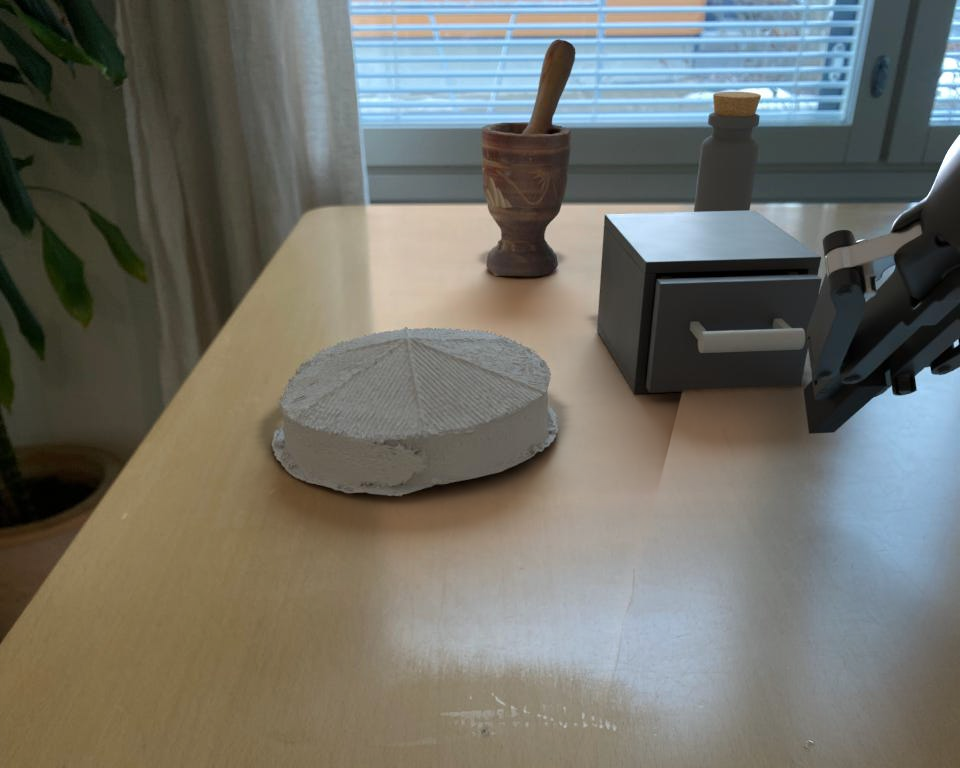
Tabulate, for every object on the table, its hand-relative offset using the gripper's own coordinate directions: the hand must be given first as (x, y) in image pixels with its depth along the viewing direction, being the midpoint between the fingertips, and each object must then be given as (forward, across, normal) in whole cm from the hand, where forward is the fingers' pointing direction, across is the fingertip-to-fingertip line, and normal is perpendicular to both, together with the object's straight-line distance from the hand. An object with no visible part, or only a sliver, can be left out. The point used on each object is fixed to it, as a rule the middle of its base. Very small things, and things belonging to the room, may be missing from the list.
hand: (818, 410), depth 57 cm
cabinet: (+22, 0, +14) cm, 25 cm away
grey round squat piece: (+12, -23, +4) cm, 26 cm away
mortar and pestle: (+42, -10, +34) cm, 55 cm away
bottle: (+45, +12, +37) cm, 59 cm away
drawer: (+17, 0, +11) cm, 20 cm away
